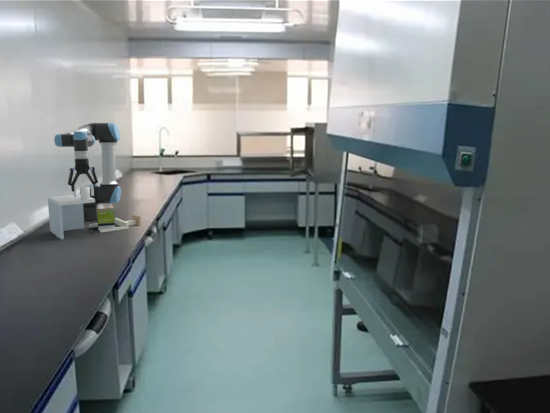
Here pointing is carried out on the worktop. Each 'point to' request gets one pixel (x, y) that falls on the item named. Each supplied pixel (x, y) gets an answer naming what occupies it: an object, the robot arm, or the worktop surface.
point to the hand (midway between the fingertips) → (83, 196)
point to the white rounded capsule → (85, 192)
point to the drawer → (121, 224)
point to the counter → (66, 213)
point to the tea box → (105, 216)
